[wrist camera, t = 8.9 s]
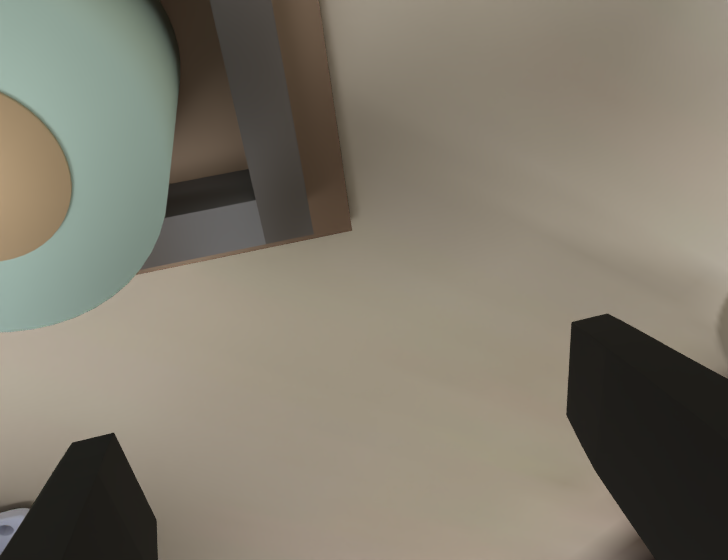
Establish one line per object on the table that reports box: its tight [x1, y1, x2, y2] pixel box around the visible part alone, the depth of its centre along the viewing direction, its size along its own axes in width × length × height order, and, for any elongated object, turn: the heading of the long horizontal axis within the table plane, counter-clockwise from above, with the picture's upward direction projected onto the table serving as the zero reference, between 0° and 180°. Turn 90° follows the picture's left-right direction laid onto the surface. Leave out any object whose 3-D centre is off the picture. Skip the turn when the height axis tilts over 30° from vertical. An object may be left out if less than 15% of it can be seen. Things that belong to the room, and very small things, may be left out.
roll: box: [0, 0, 180, 332], centre depth 12 cm, size 5×5×7 cm
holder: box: [136, 0, 352, 275], centre depth 14 cm, size 12×12×3 cm
